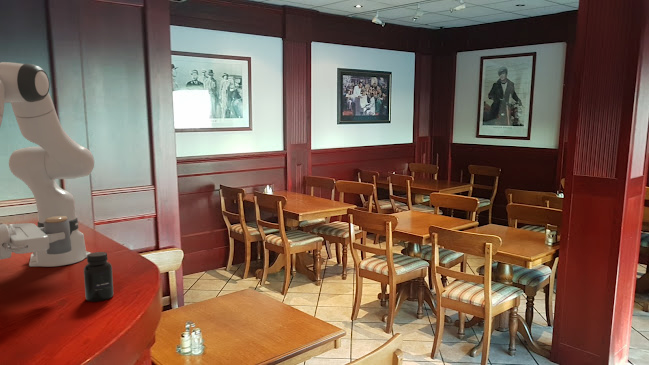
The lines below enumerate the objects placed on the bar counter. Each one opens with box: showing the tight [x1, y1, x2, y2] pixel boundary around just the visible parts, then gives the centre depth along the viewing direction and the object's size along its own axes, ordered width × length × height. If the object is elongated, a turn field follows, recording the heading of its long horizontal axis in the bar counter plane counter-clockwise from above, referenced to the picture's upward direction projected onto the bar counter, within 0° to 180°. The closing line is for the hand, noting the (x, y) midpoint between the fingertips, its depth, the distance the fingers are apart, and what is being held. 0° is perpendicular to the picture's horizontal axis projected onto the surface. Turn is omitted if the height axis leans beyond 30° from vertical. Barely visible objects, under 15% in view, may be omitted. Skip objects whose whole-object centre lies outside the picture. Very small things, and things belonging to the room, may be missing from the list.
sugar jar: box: [44, 216, 72, 254], centre depth 131 cm, size 6×6×9 cm
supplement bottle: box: [83, 251, 114, 303], centre depth 128 cm, size 7×7×12 cm
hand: (61, 232), depth 131 cm, fingers closed on sugar jar, 6 cm apart
